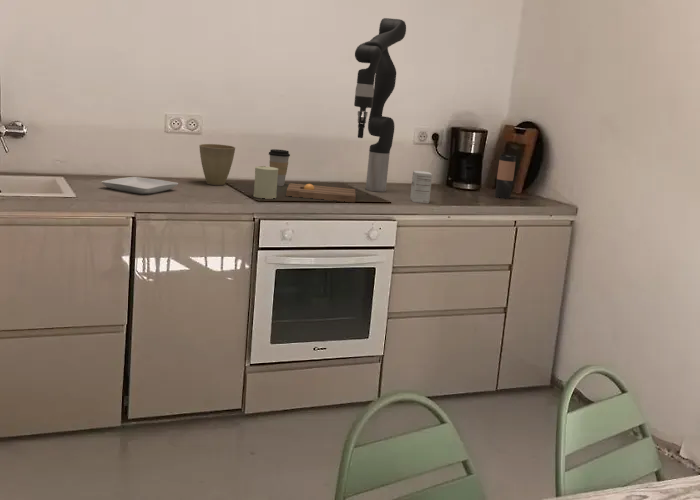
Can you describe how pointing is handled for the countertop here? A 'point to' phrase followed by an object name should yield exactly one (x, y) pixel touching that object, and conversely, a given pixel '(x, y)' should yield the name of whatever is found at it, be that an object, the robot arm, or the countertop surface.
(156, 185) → the salad plate
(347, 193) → the wooden cutting board
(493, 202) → the countertop surface
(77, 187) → the countertop surface
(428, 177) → the supplement box
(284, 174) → the coffee cup
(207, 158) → the plant pot
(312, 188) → the ball
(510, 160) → the travel mug
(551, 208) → the countertop surface
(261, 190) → the can
